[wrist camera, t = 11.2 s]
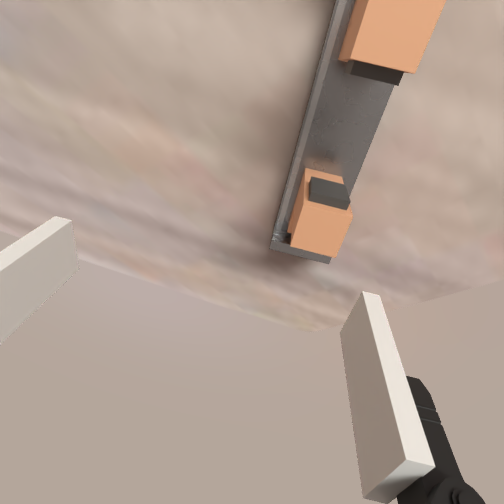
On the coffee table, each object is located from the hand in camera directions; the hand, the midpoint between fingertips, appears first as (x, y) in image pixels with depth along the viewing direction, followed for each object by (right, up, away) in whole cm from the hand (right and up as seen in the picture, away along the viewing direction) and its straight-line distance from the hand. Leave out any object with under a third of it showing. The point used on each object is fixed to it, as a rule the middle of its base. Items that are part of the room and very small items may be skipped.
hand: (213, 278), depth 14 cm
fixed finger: (+12, +20, +11) cm, 26 cm away
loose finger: (+9, +7, +20) cm, 23 cm away
